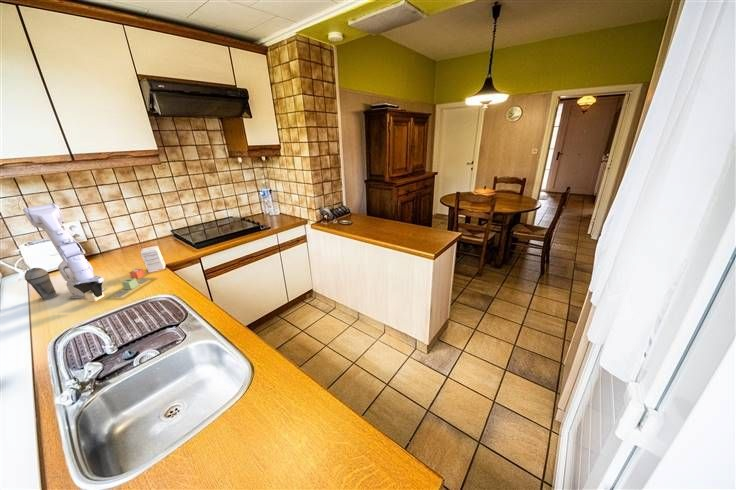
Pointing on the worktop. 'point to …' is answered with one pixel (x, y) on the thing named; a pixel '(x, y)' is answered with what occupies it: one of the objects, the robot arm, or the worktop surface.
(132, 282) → the pale green cube
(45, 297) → the beverage cup
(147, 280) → the word mat
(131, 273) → the coral red cube
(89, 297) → the pale yellow cube
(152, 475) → the worktop surface
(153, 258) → the white packaging box
